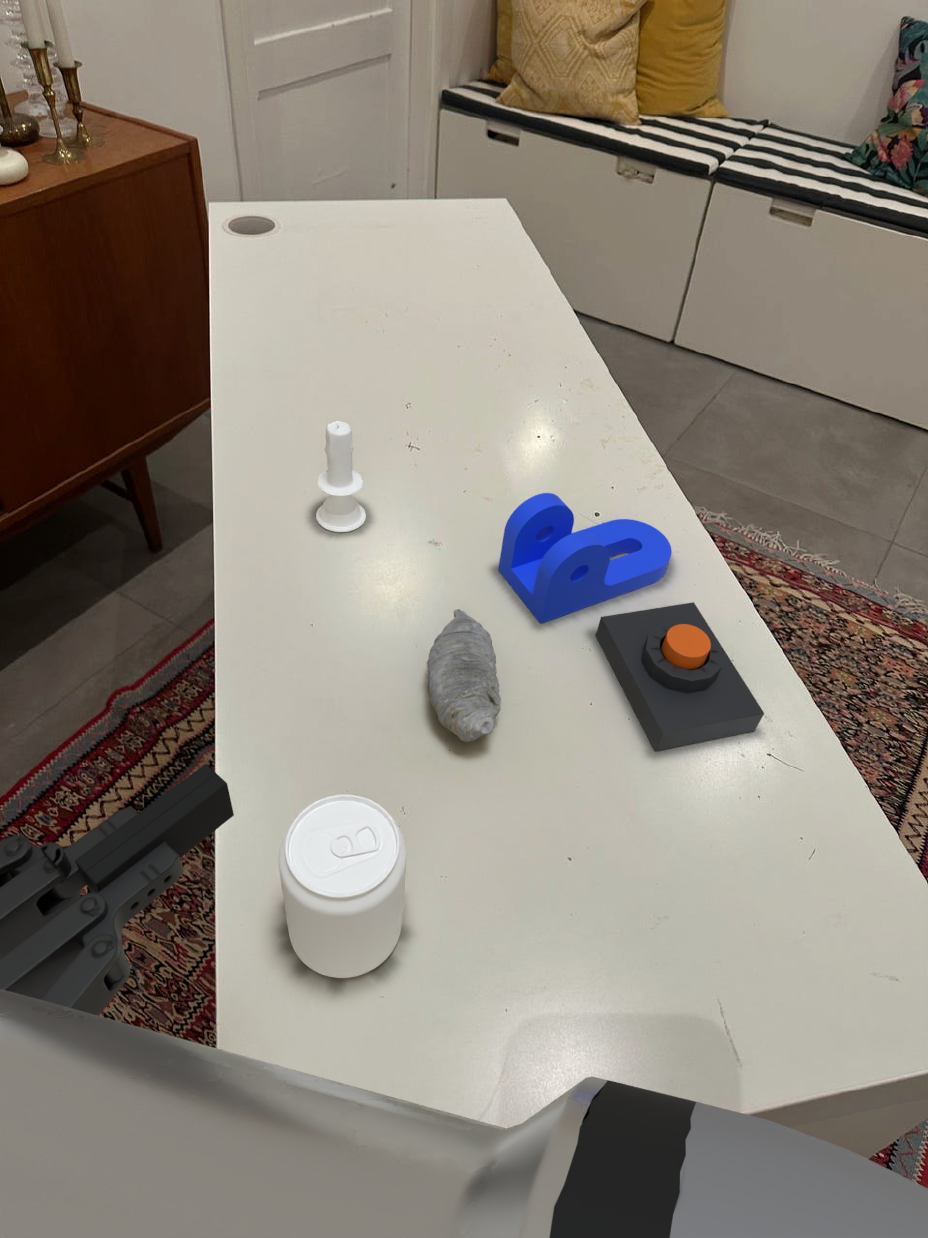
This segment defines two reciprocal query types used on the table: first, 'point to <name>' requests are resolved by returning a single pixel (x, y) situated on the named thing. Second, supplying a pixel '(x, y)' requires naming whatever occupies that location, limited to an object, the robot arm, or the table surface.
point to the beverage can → (343, 885)
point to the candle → (340, 482)
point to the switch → (686, 646)
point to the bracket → (576, 558)
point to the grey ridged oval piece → (464, 678)
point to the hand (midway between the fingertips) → (219, 790)
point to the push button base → (676, 680)
